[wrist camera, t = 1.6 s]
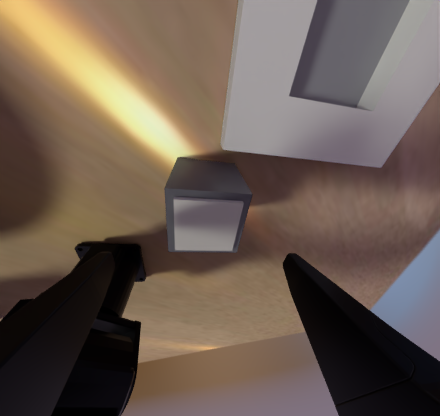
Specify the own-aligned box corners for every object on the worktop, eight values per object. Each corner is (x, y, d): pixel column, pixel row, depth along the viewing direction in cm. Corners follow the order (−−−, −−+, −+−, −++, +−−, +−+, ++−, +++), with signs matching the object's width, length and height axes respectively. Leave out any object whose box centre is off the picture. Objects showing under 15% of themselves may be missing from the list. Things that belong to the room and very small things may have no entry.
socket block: (361, 161, 15) (381, 167, 14) (220, 144, 13) (223, 149, 12) (528, -113, 8) (614, -170, 6) (270, -255, 6) (298, -398, 4)
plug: (226, 209, 17) (237, 255, 12) (178, 206, 16) (167, 255, 11) (234, 163, 14) (253, 196, 9) (177, 157, 14) (163, 190, 8)
